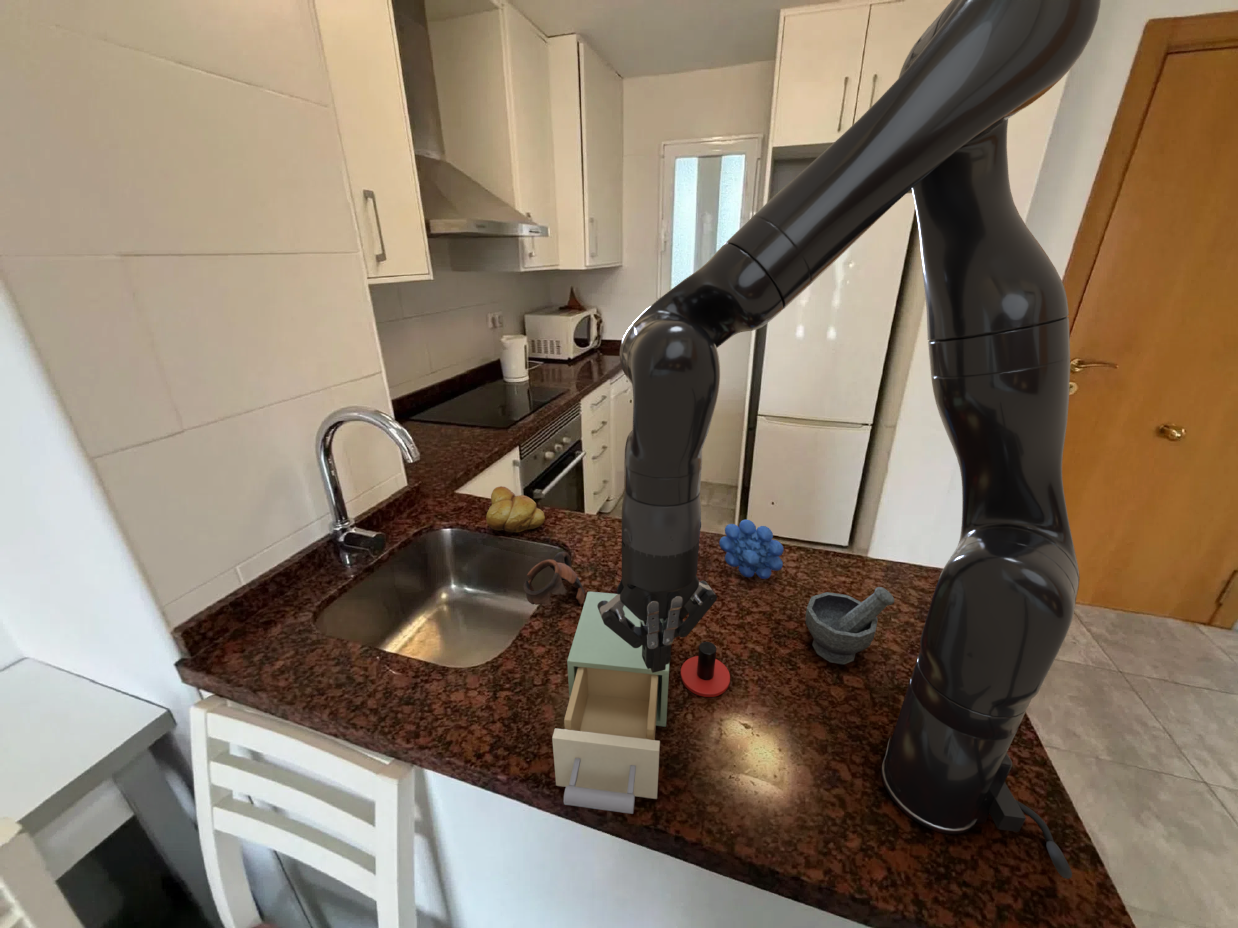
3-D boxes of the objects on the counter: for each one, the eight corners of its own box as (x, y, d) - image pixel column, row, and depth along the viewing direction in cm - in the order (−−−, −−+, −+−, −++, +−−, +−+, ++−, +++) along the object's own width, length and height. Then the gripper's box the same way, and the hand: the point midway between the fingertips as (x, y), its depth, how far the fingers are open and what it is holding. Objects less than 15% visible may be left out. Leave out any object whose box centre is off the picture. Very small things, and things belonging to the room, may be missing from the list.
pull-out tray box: (654, 845, 49) (656, 796, 46) (544, 829, 51) (539, 780, 48) (662, 703, 65) (664, 659, 62) (578, 694, 66) (576, 650, 63)
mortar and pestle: (802, 665, 72) (815, 600, 67) (797, 622, 80) (808, 561, 76) (886, 680, 69) (905, 613, 65) (871, 634, 78) (888, 572, 73)
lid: (728, 660, 73) (731, 632, 71) (731, 699, 67) (735, 669, 64) (680, 656, 74) (682, 627, 72) (680, 694, 67) (682, 664, 65)
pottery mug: (585, 618, 82) (559, 590, 78) (539, 630, 85) (511, 604, 81) (593, 562, 91) (570, 535, 87) (551, 575, 95) (527, 549, 90)
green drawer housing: (666, 726, 63) (669, 671, 59) (570, 715, 64) (567, 660, 60) (669, 648, 75) (672, 598, 71) (589, 640, 77) (587, 591, 73)
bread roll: (551, 519, 111) (549, 487, 108) (534, 541, 103) (531, 508, 100) (500, 512, 114) (496, 481, 111) (479, 533, 106) (474, 500, 103)
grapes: (713, 584, 90) (718, 528, 85) (718, 563, 95) (723, 510, 91) (779, 596, 86) (789, 538, 82) (780, 574, 92) (788, 519, 87)
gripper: (705, 503, 52) (695, 630, 59) (584, 521, 49) (589, 654, 55) (741, 540, 45) (725, 677, 52) (604, 564, 42) (606, 708, 49)
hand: (655, 665), depth 54 cm, fingers closed
